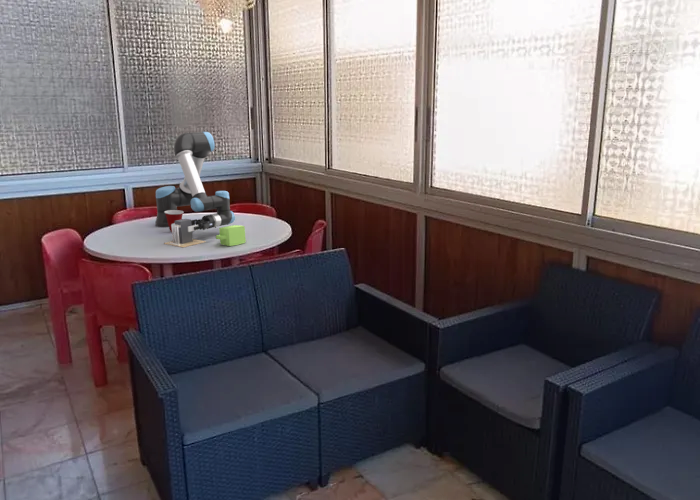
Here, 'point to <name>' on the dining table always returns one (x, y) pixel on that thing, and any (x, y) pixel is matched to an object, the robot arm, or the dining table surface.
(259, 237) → the dining table surface
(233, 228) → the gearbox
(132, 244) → the dining table surface
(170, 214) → the plastic cup
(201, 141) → the robot arm
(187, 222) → the plug housing
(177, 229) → the board
